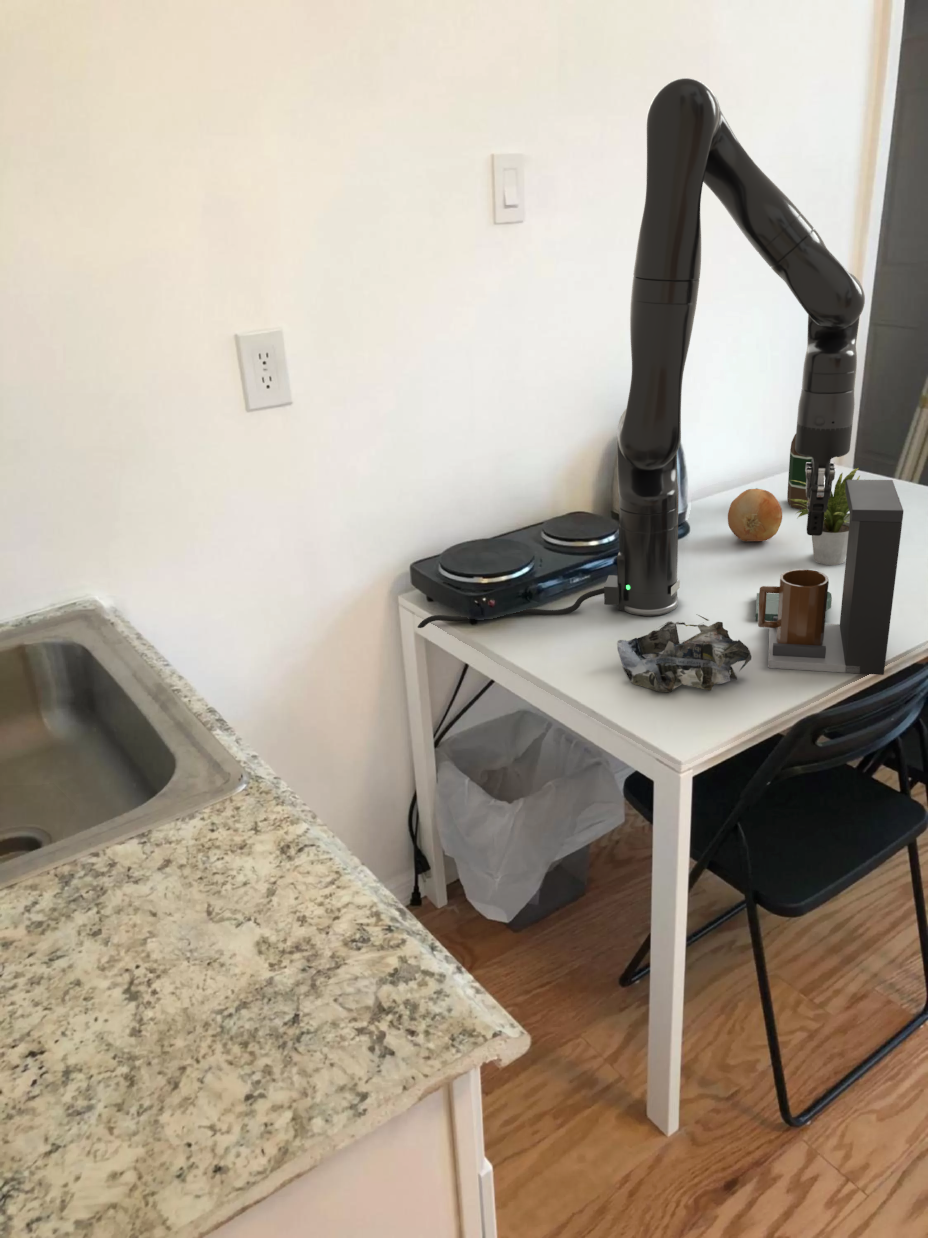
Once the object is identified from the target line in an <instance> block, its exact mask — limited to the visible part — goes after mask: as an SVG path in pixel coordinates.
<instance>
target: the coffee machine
mask: <svg viewBox="0 0 928 1238" xmlns="http://www.w3.org/2000/svg"><path fill="white" fill-rule="evenodd" d="M845 493H846V498H847V502H848V507H849V511H848V513H850V522H849V533H848V543H847V553H846V558H845V565H844V575H843V585H842V596H841V606H840V615H839V624H838V623H837V624H835V623H825V628H824V639H823V644H822V646H818V645H800V644H781V643H777V641H776V633H777V628H768V657H767V658H768V660H767V661H768V663H767V664H768V667H767V668H769V669H782V670H796V671H797V670H798V671H799V670H800V671H814V672H829V673H845V674H862V675H865V674H866V675H876V676H877V675H880V676H884V675H885V668H886V660H887V653H888V651H887V650H888V643H889V635H890V628H891V627H890V626H891V619H892V611H893V601H894V594H895V585H896V577H897V569H898V568H897V567H898V561H899V553H900V544H901V535H902V528H903V519H904V508H903V505H902V503H901V500H900V496H899V495H898V491H897V488H896V486H895V484H894V481H893V479H859V480H857V479H852V480H846V484H845ZM777 617H778V616H773V621H777Z"/></svg>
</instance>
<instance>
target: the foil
mask: <svg viewBox="0 0 928 1238" xmlns="http://www.w3.org/2000/svg"><path fill="white" fill-rule="evenodd" d="M697 616H698V617H700V618H701V619H703V620H705V622H707V621H708V622H709V621H710V619H709V618H707V617H704V616H701V615H700V614H697ZM678 625H679V626H680V625H684V626H685V627H697V628H698V629H699V633H696V634H694V635H693V636H691V637H690V638H688V639H686V640H683V641H681V642H680V639H679V632H678V627H677V626H678ZM659 628H660V629H658V630H651V632H649V633H648V634H646V635H643V636H640V637H634V638H633V639H630V640H626V639H619V640H617V642H616V646H617V652H618V656H619V658H620V662H621V664H622V668H623V671H624V673H625V675H626V676H627V679H629V682H630V683H631V684H633V685H634V686H639V687H640V686H641V687H644V688H645V689H650V690H652V691H656V692H659V693H672V692H673V690H676V689H677V688H679V687H680V686H682V685H683V686H688V687H693V688H697V689H701V690H706V691H712V690H713V687H714V685H721V684H725V683H729V682H730V681H733V680H734V681H737V680H738V678H737V675H736V672H735V671H734V669H733V666H732V665H735V664H736V663H739V662H743V664H742V666H741V667H740V669H739V671H741V670H742V669H743V668H744V667H745V666H746V665H747V664H749V663H750V661H752V654H751V651H750V649H749V647H748V646H747V645H746V644H745V643H743V642H742V641H741V640H740V639H738V640H733V639H732V638H731V637H730V635H729V630H727V629H725V628H724V622H723V621H716V622H714V623H712V624H711V625H706V624H705V623H704V622H701V623H699V624H686V623H685V622H683V621H682V622H681V621H680V622H679V621H676V622H673V621H671V620H670V621H667V622H666V623H663V624H662V625H661V626H659Z"/></svg>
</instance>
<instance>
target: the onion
mask: <svg viewBox="0 0 928 1238" xmlns="http://www.w3.org/2000/svg"><path fill="white" fill-rule="evenodd" d="M782 522H783V510H782V505H781V504H780V502H779V501H778V499H777V497H776V496H775V495H774V494H773V493H772V492H770V491H768V490H766V489H762V488H748V489H746V490H744V491H742V492H741V493H740V494H739V495H737V496H736V497H735V498H733V500H732V502H731V503H730V506H729V509H728V511H727V525H728V527H729V529H730V531H731V532H732V533H733V535H734V536H735V537H736V538H738V539H739V540H740V541H741V542H767V541H769V540H770V539H772V538H773V537H774V536H775V535H776V534H777V533H778V532H779V529H780V527H781V524H782Z"/></svg>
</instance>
